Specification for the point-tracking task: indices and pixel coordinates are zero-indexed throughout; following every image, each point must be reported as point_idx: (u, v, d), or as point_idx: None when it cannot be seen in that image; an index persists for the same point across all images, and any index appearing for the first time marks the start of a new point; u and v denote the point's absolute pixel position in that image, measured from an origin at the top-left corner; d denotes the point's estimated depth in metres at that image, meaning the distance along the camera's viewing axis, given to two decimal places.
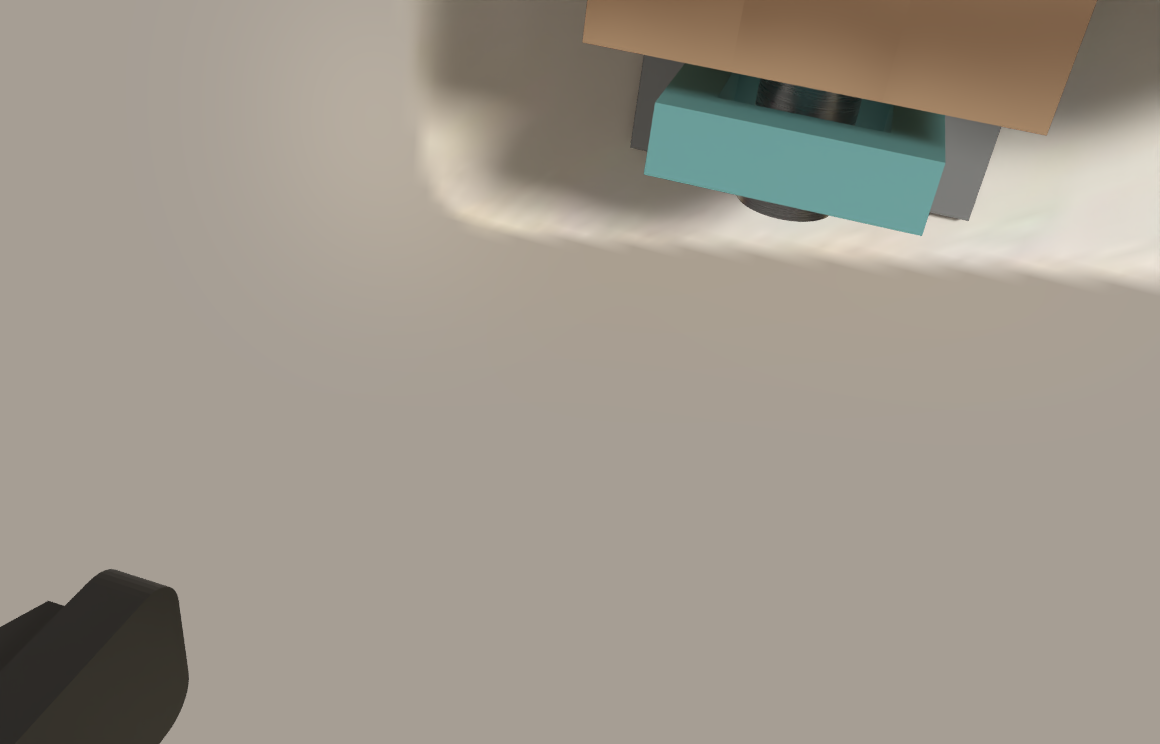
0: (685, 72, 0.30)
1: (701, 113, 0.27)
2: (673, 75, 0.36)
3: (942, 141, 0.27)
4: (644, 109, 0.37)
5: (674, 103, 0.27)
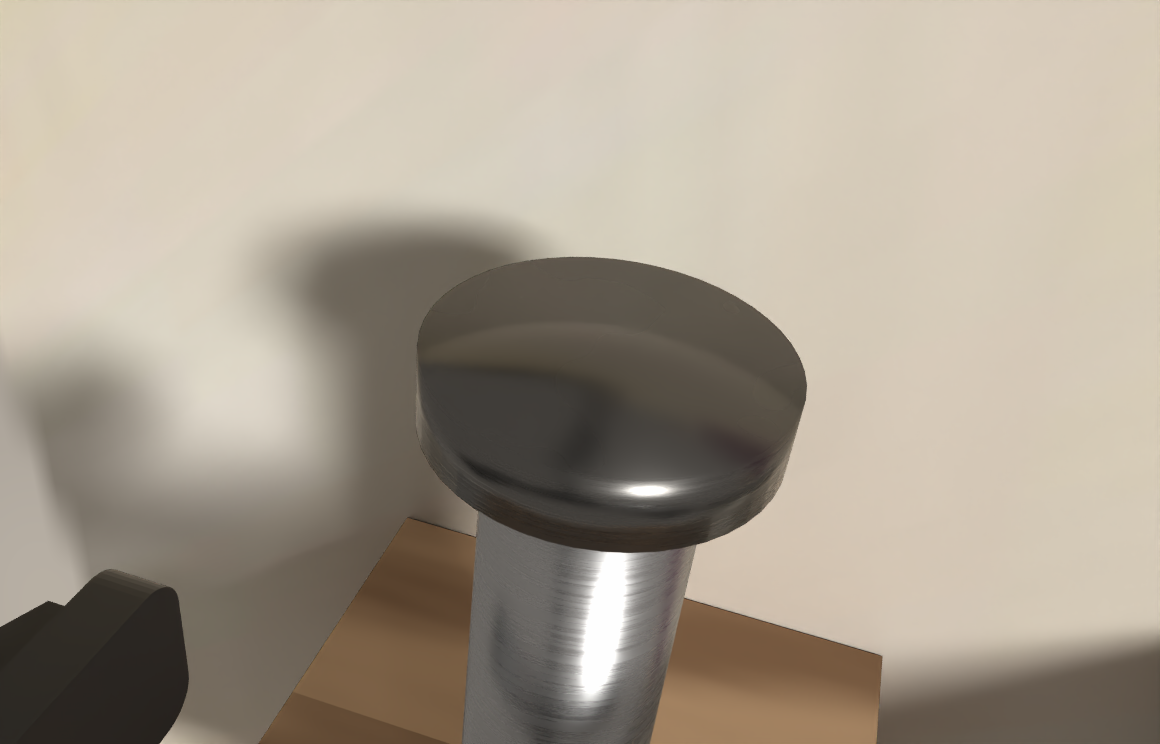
0: None
1: None
2: None
3: None
4: None
5: None
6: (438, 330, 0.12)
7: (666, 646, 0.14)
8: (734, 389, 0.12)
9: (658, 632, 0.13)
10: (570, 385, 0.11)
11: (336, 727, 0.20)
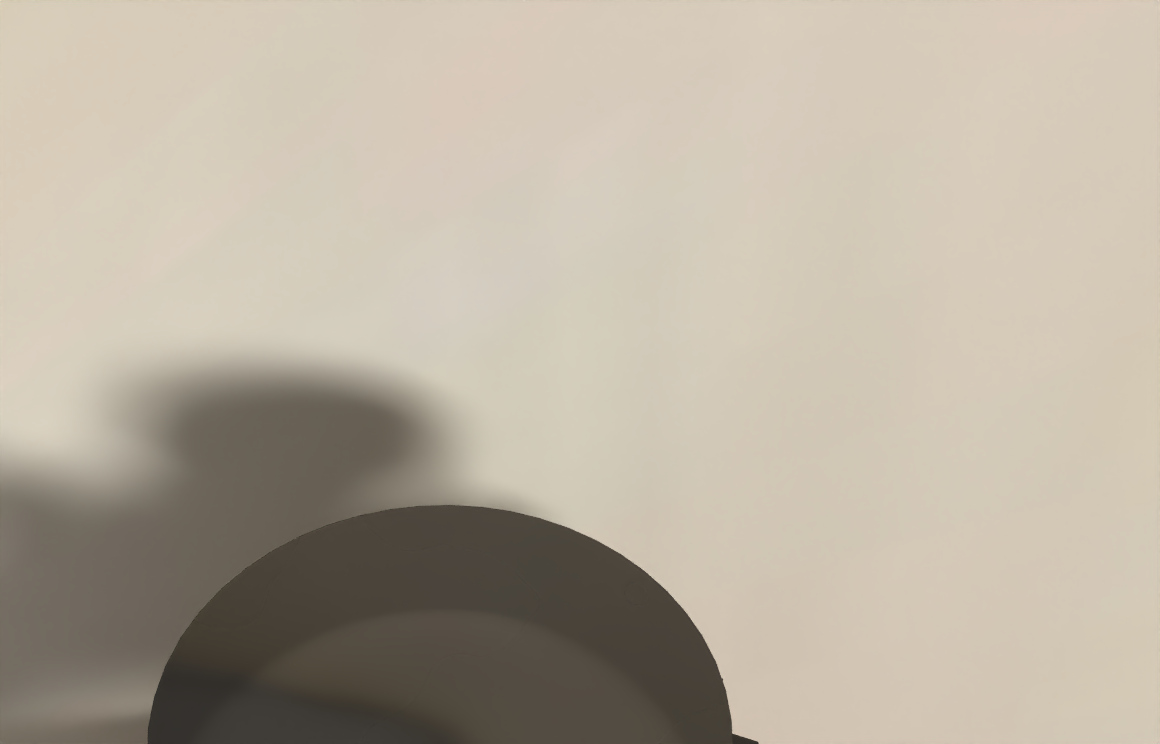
0: None
1: None
2: None
3: None
4: None
5: None
6: (194, 663, 0.08)
7: None
8: None
9: None
10: None
11: None
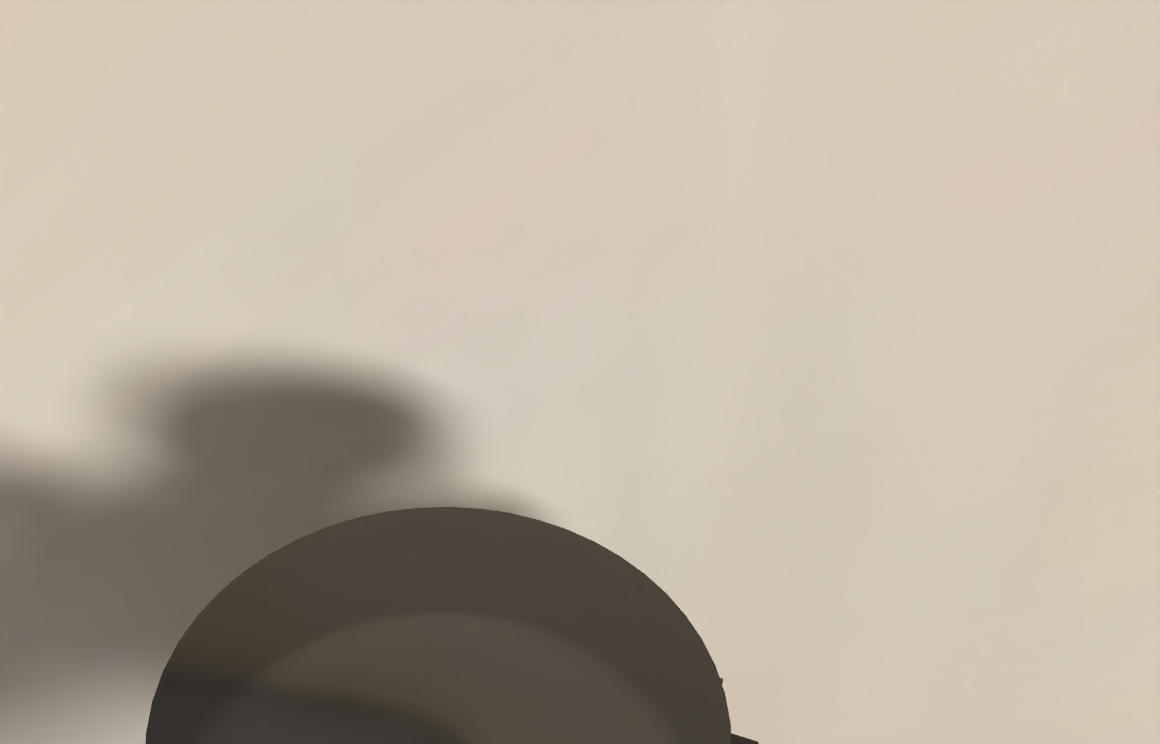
0: None
1: None
2: None
3: None
4: None
5: None
6: (193, 668, 0.08)
7: None
8: None
9: None
10: None
11: None
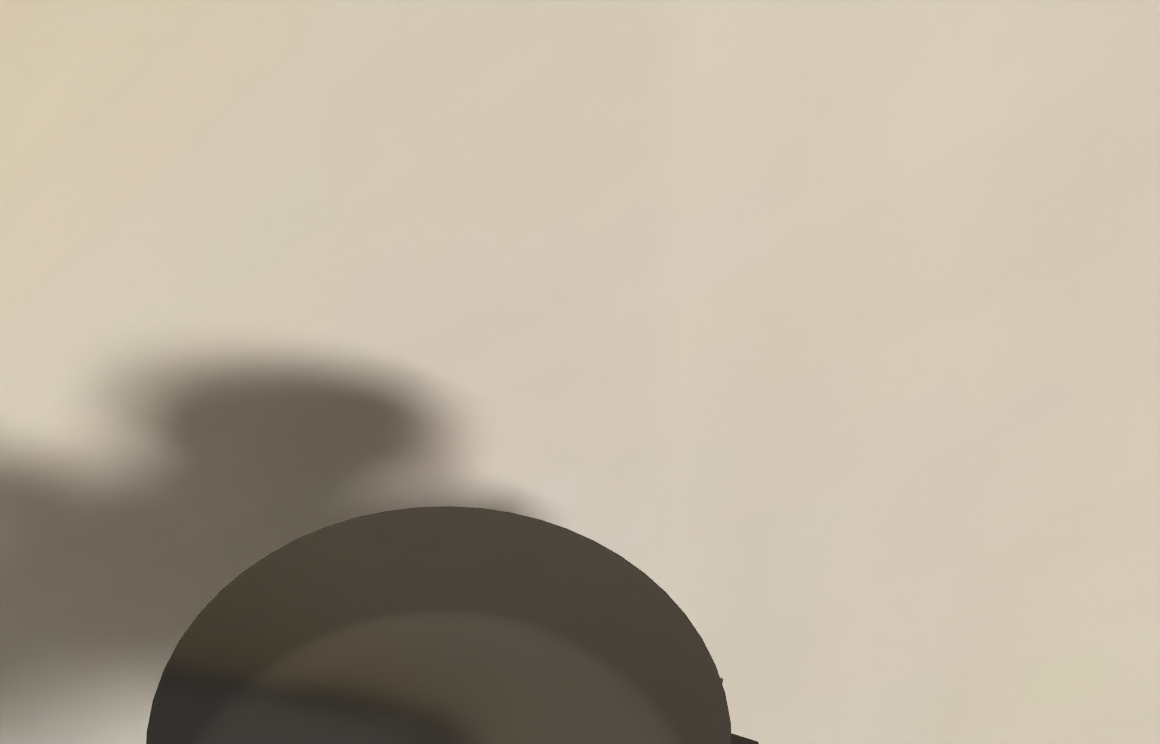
0: None
1: None
2: None
3: None
4: None
5: None
6: (193, 667, 0.08)
7: None
8: None
9: None
10: None
11: None
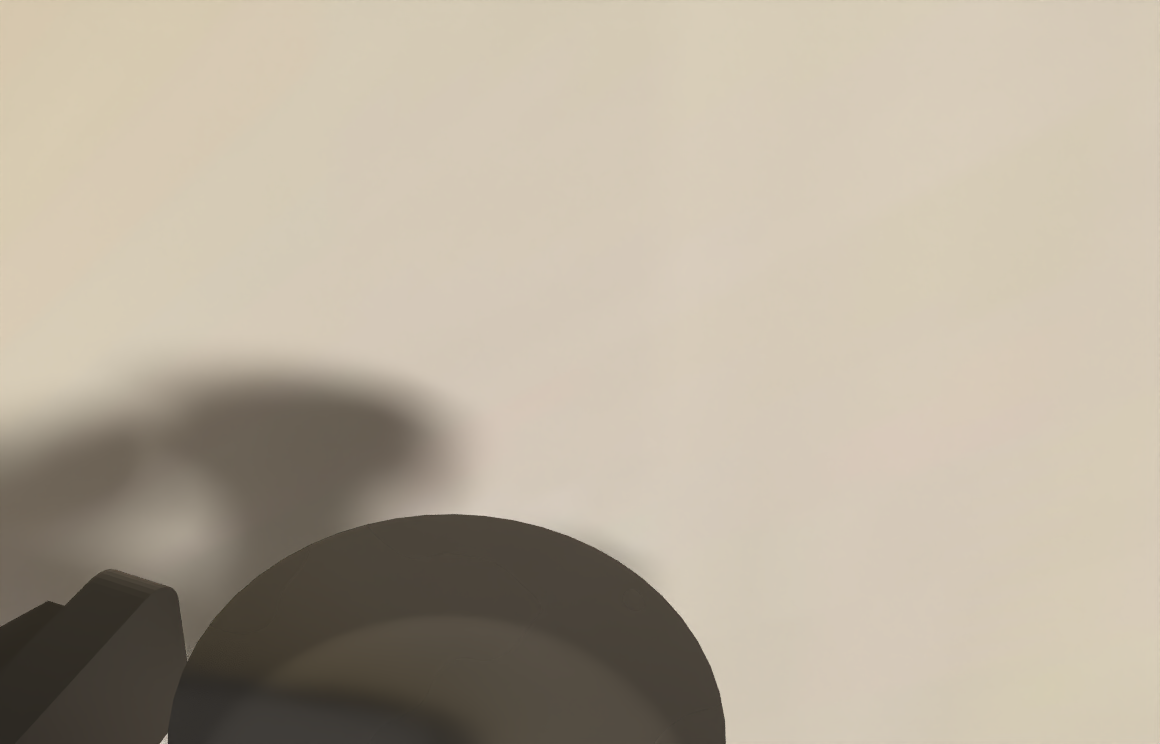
0: None
1: None
2: None
3: None
4: None
5: None
6: (211, 667, 0.09)
7: None
8: None
9: None
10: None
11: None
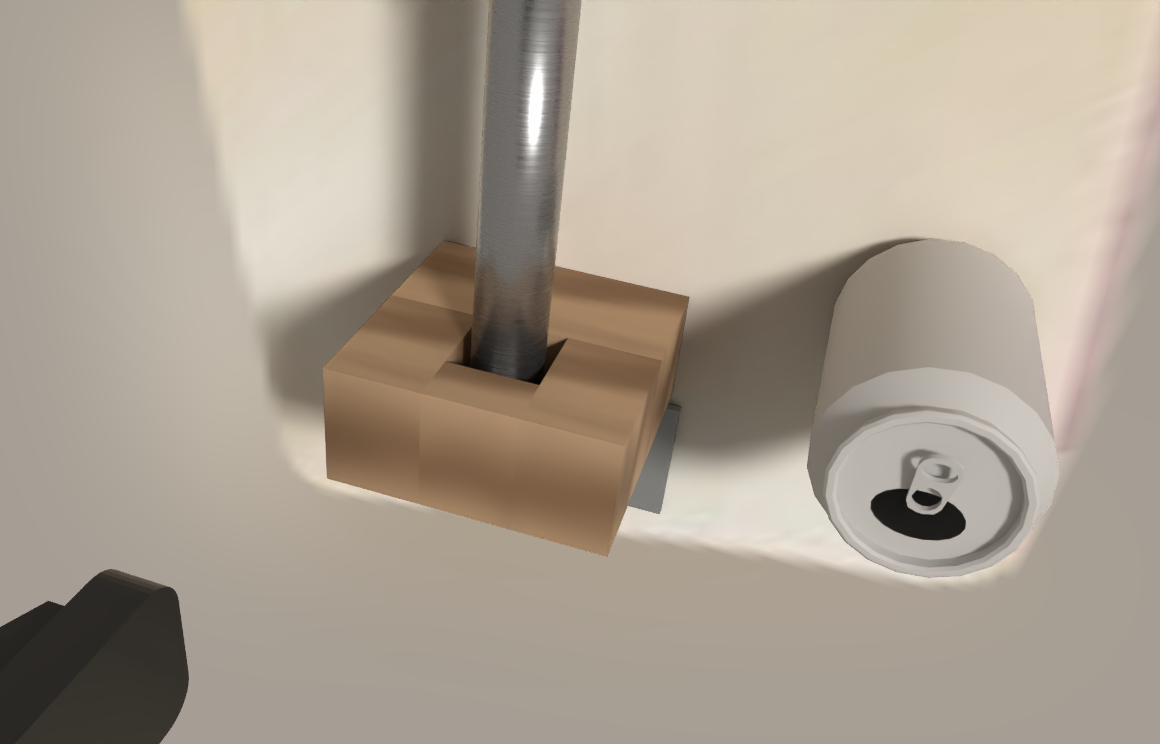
0: None
1: None
2: None
3: None
4: None
5: None
6: None
7: (572, 24, 0.32)
8: None
9: (567, 8, 0.31)
10: None
11: (414, 306, 0.41)
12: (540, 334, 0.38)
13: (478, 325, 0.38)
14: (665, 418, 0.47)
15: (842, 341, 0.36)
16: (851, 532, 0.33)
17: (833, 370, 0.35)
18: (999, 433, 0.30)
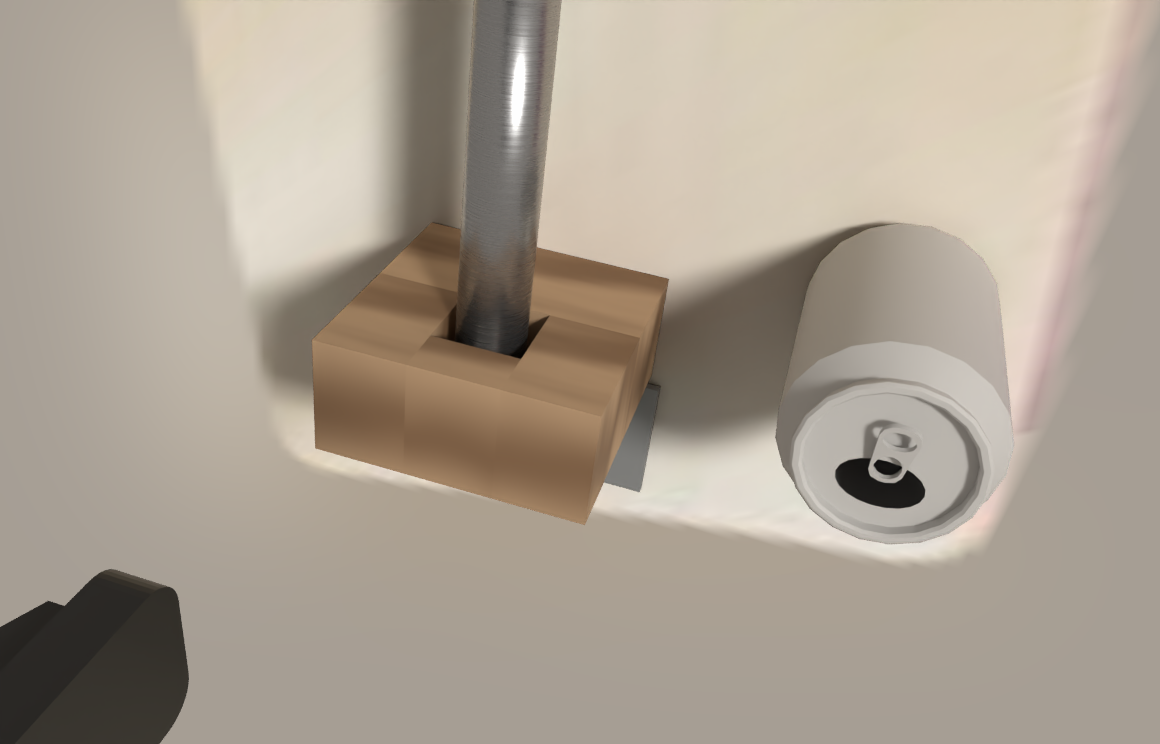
0: None
1: None
2: None
3: None
4: None
5: None
6: None
7: (553, 9, 0.33)
8: None
9: None
10: None
11: (401, 283, 0.42)
12: (522, 310, 0.39)
13: (462, 300, 0.39)
14: (645, 397, 0.48)
15: (812, 319, 0.38)
16: (816, 500, 0.35)
17: (802, 346, 0.36)
18: (955, 403, 0.32)
